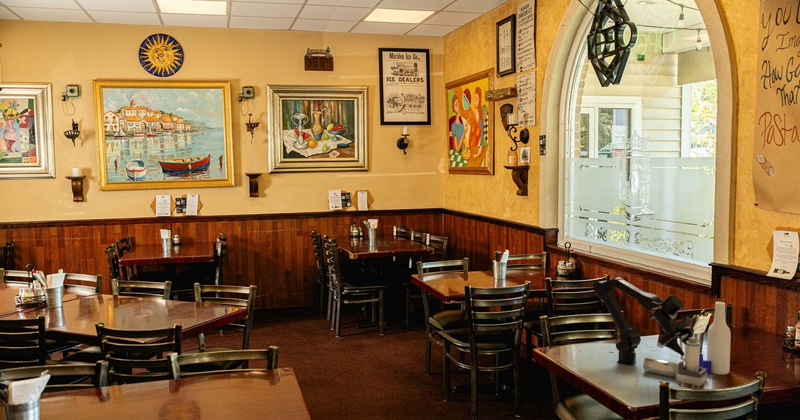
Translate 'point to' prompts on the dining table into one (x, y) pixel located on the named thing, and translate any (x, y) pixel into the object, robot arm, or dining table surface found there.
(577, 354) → the dining table surface
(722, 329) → the alcohol
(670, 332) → the robot arm
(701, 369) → the grey cylinder with box
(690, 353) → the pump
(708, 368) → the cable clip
